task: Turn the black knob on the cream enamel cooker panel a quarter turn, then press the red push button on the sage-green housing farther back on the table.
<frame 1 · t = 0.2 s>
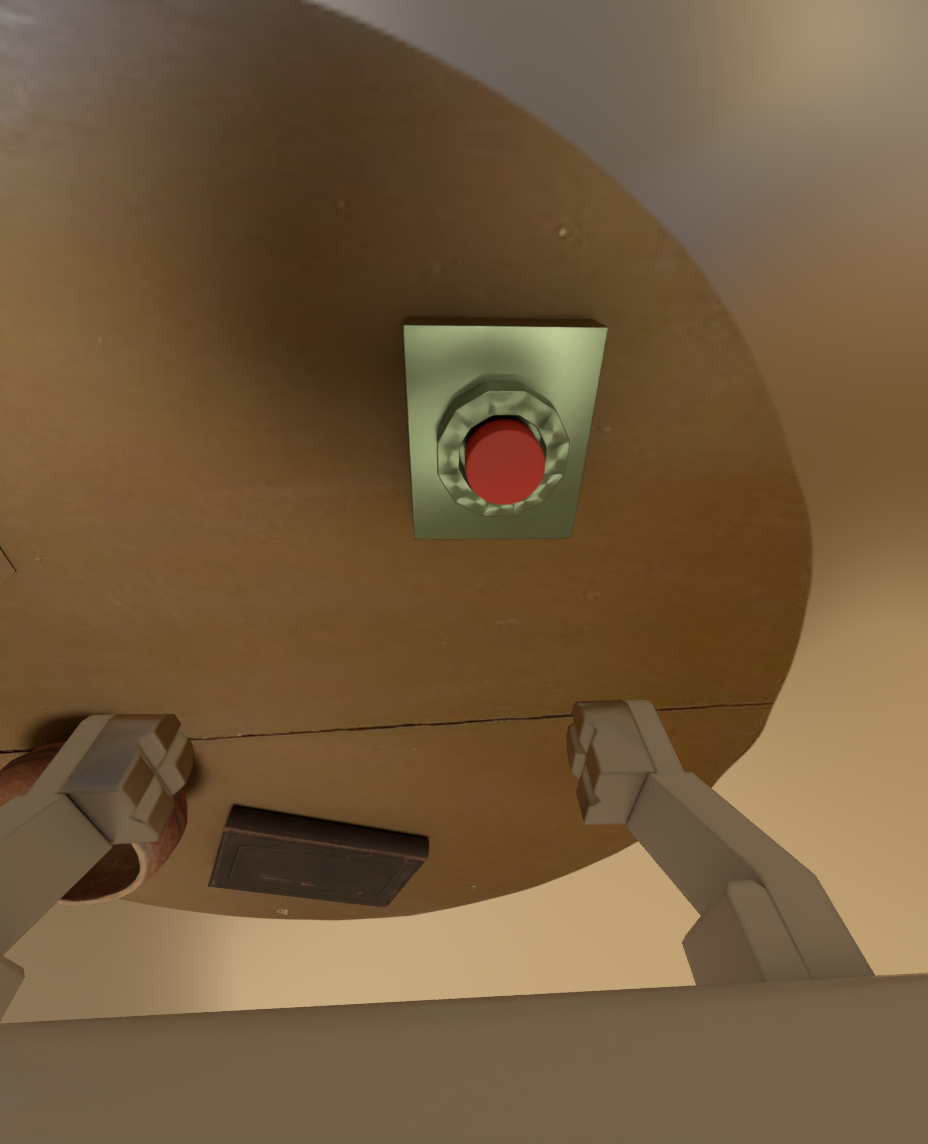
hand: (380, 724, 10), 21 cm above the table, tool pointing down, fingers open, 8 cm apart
old dark book: (320, 849, 58), on the table
button box: (494, 430, 28), on the table
bowl: (123, 761, 46), on the table
red push button: (503, 462, 24), point 5 cm above the table, slide at 0.1 cm
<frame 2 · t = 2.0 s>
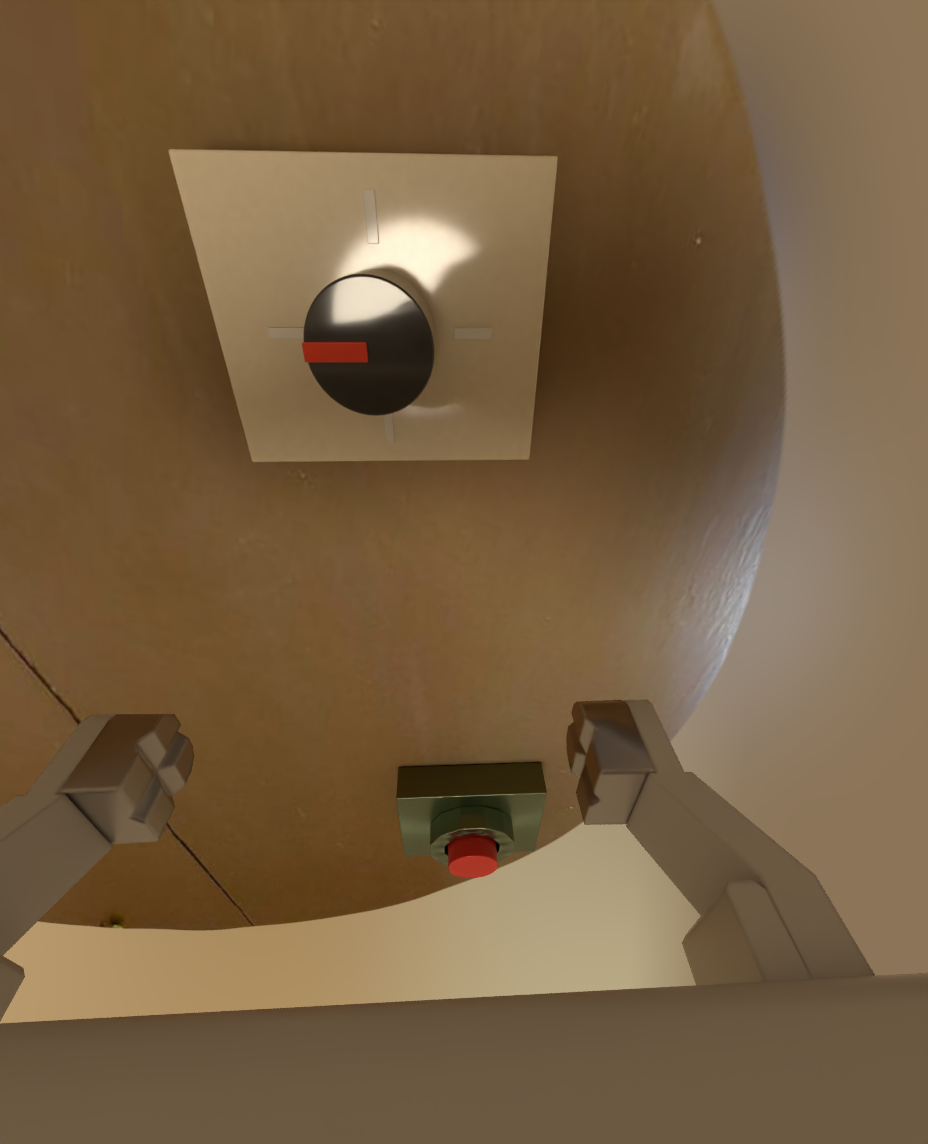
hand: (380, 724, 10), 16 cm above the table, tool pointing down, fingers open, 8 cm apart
button box: (469, 796, 42), on the table
hob knob: (375, 341, 16), point 5 cm above the table, hinge at 0.0°
hob panel: (388, 321, 20), on the table
red push button: (472, 855, 38), point 5 cm above the table, slide at 0.1 cm
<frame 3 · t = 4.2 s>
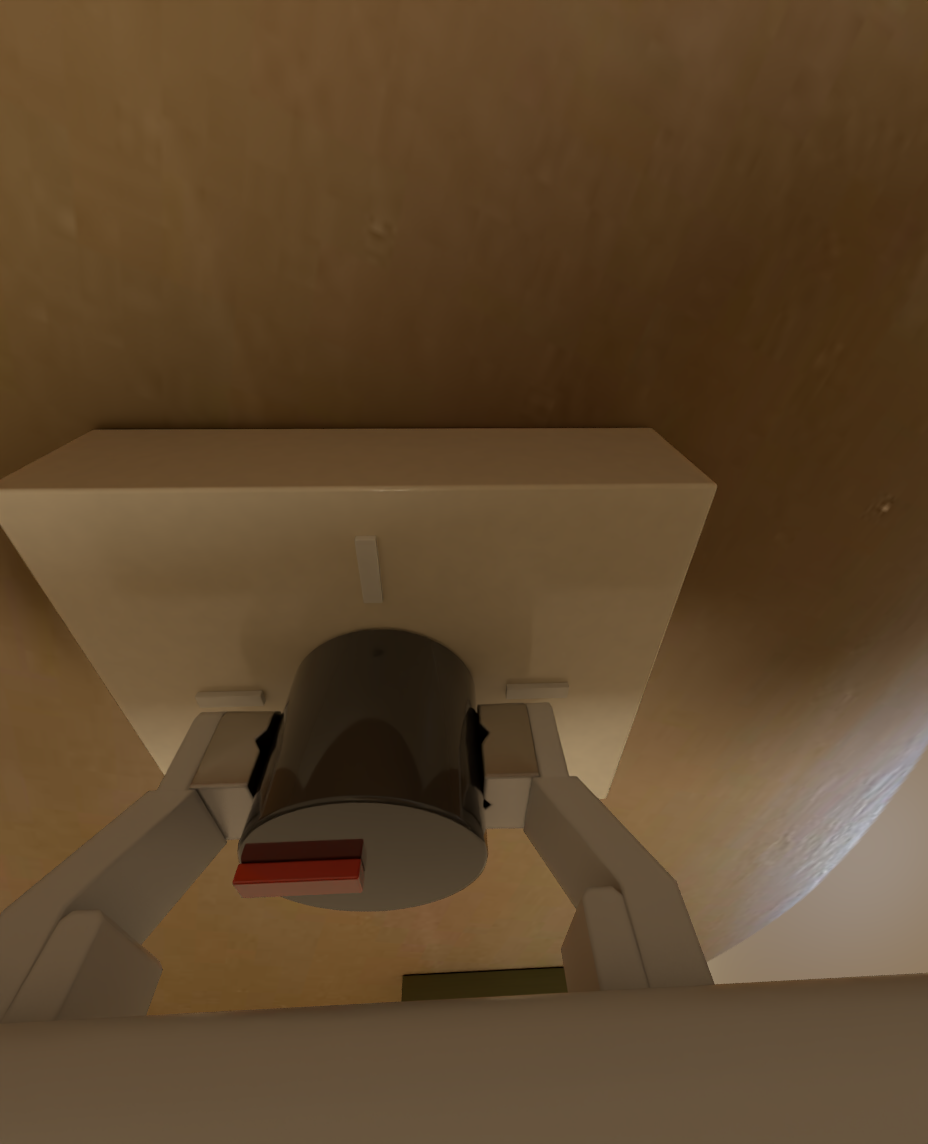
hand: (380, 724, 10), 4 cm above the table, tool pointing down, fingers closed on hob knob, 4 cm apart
button box: (486, 991, 35), on the table
hob knob: (376, 773, 9), point 5 cm above the table, hinge at 0.2°, touching gripper
hob panel: (396, 606, 13), on the table
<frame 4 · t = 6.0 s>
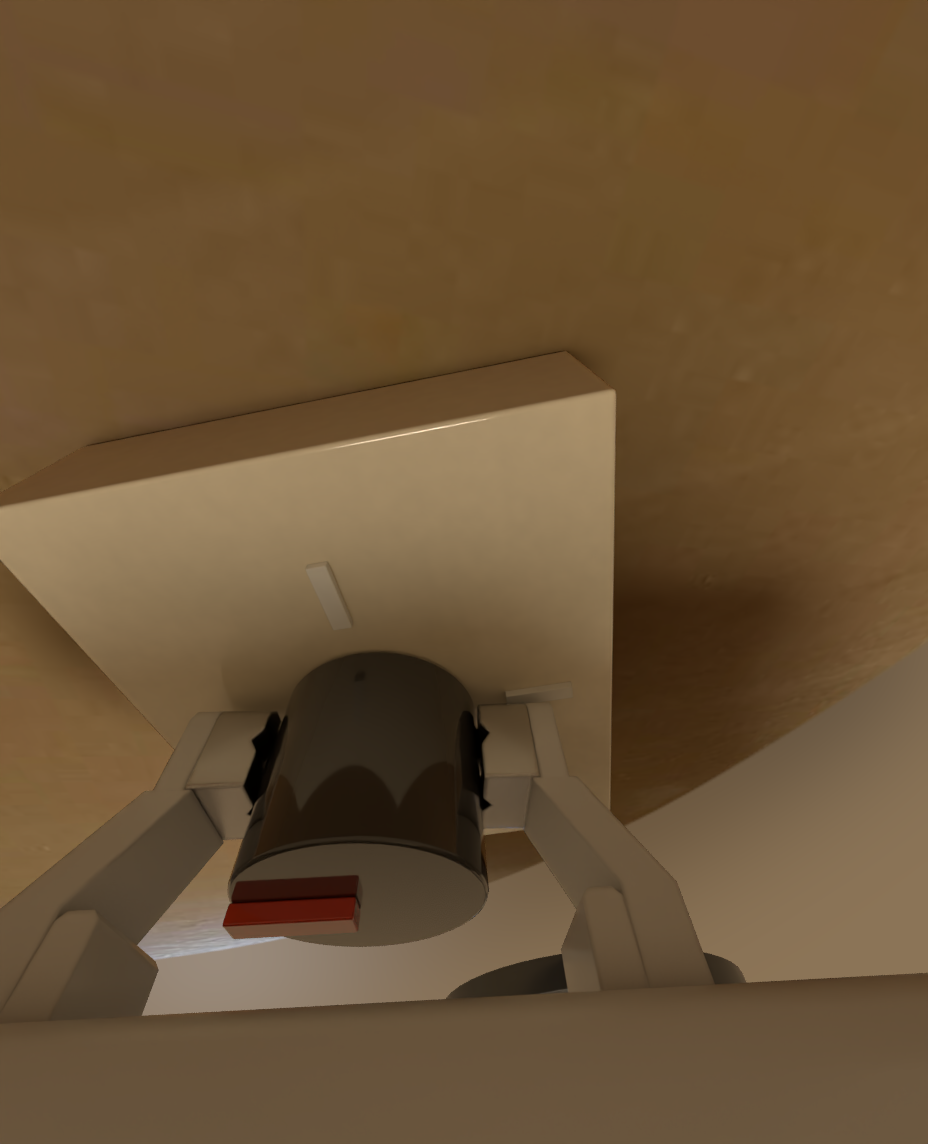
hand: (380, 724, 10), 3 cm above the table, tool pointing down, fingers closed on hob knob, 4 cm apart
hob knob: (373, 802, 8), point 5 cm above the table, hinge at 80.7°, touching gripper
hob panel: (394, 623, 13), on the table
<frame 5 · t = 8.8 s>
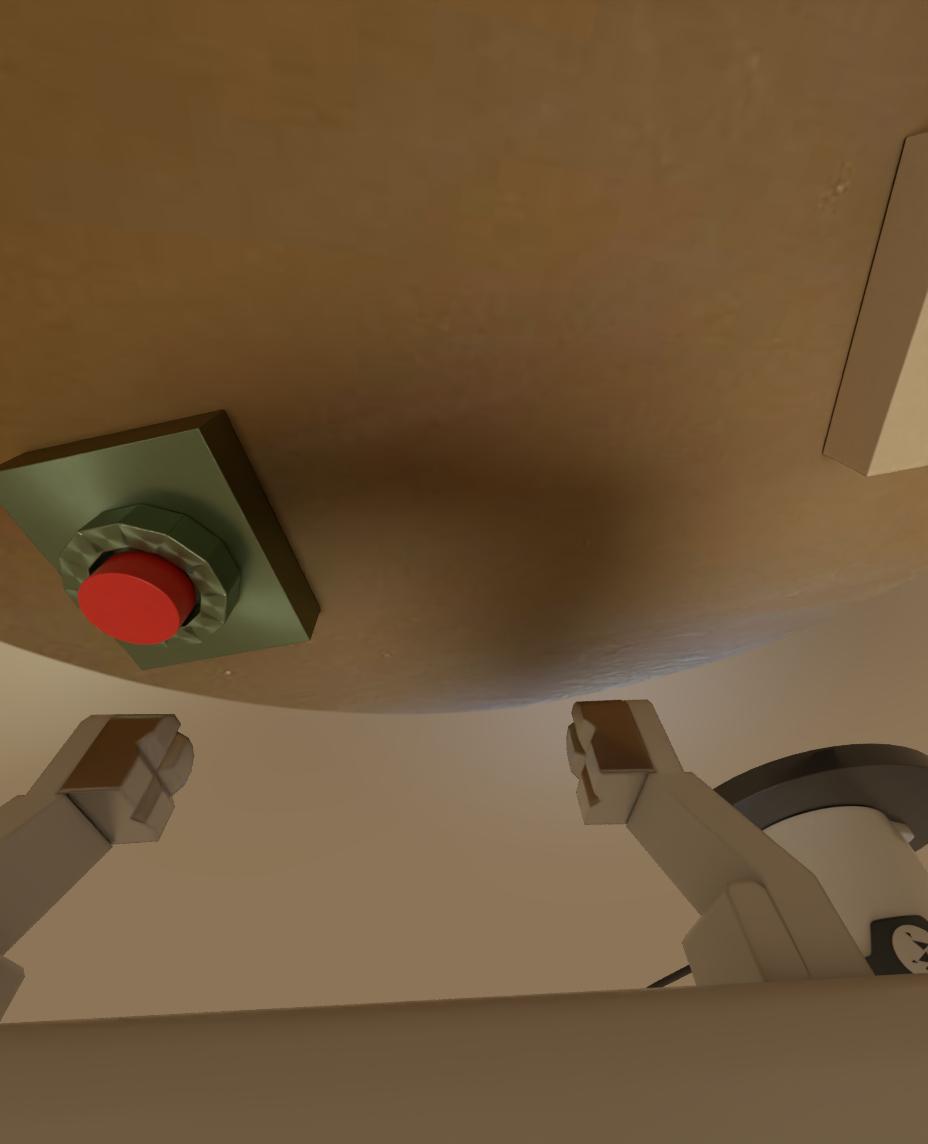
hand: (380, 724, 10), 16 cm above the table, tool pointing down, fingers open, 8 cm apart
button box: (190, 541, 25), on the table
red push button: (140, 598, 21), point 5 cm above the table, slide at 0.1 cm
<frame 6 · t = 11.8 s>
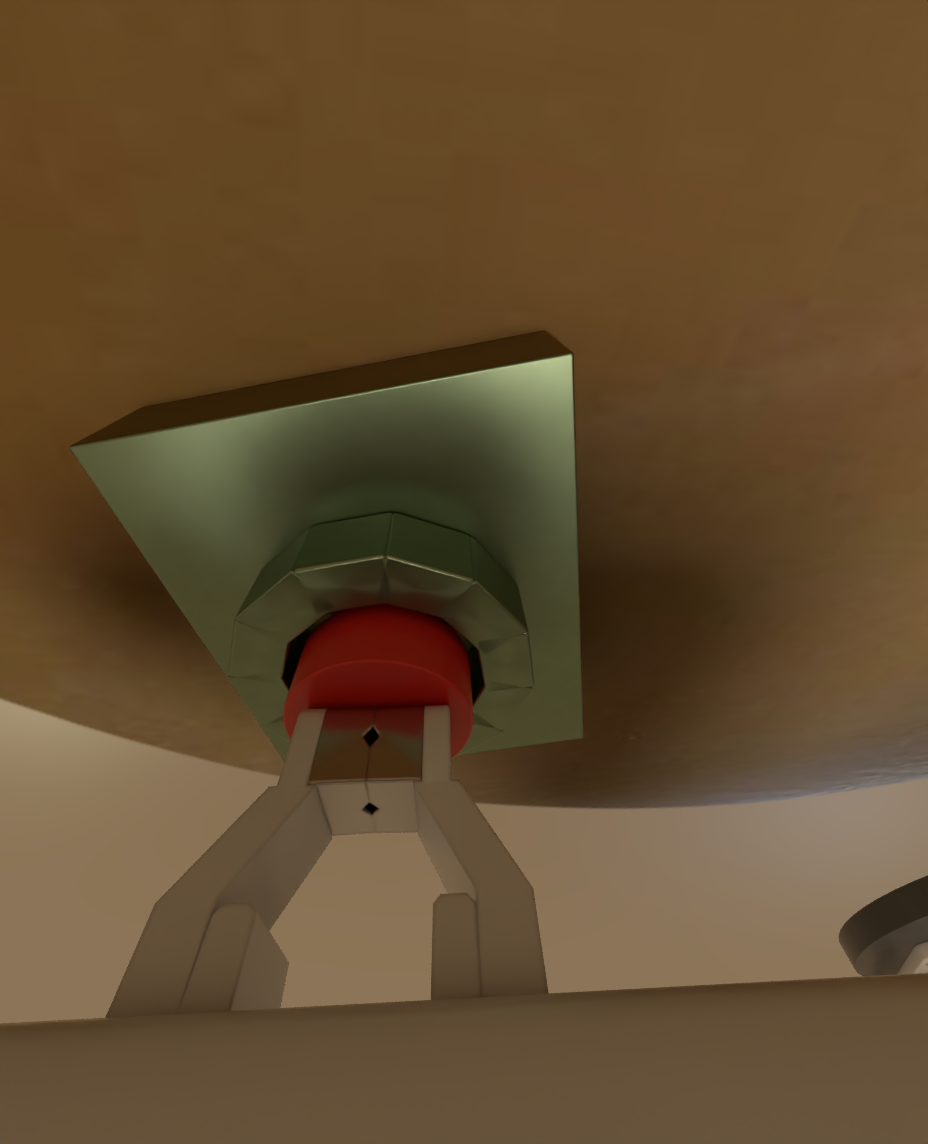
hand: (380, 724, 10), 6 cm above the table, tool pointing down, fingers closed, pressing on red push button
button box: (399, 571, 14), on the table
red push button: (383, 694, 10), point 5 cm above the table, slide at 0.0 cm, touching gripper
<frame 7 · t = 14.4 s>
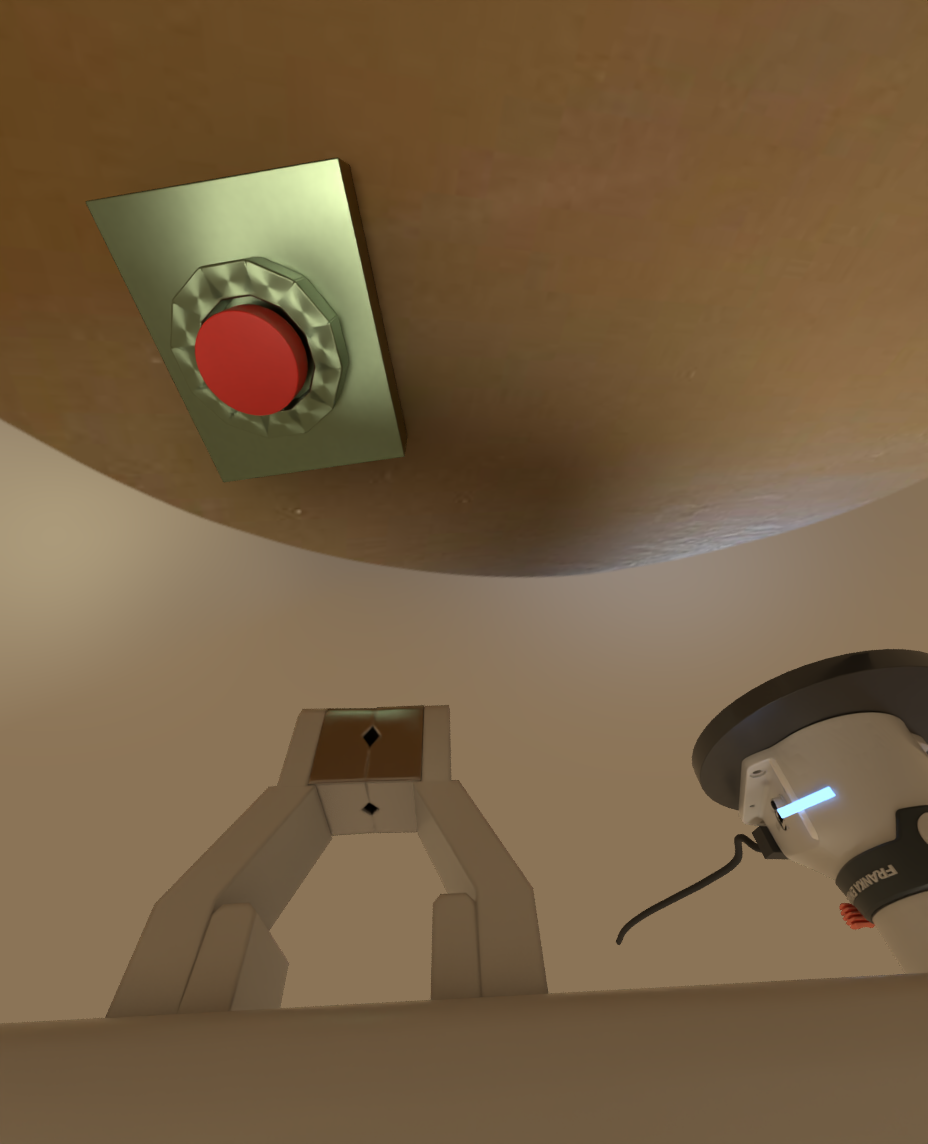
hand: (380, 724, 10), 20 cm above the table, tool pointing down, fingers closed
button box: (285, 337, 23), on the table
red push button: (254, 361, 19), point 5 cm above the table, slide at 0.1 cm
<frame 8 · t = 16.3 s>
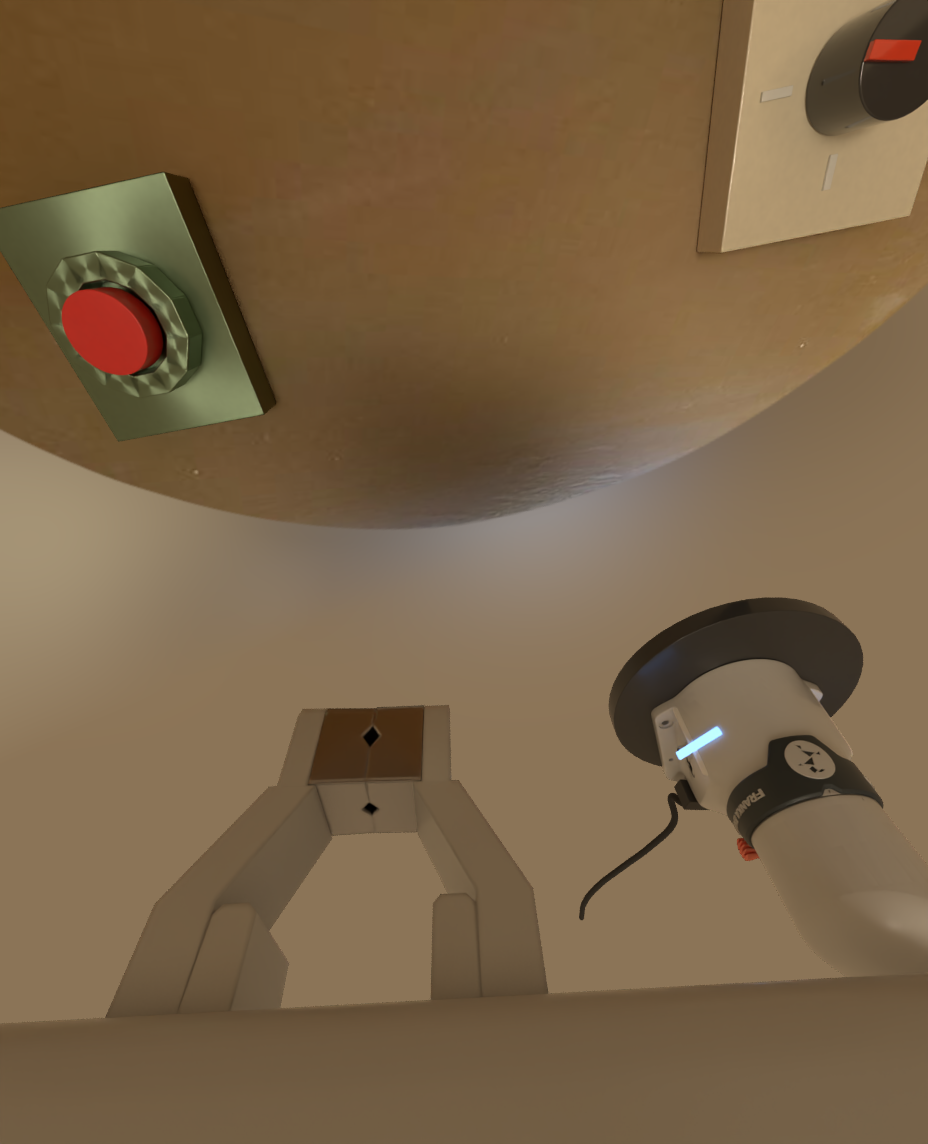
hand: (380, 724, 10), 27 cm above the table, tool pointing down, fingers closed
button box: (160, 319, 29), on the table
hob knob: (882, 65, 20), point 5 cm above the table, hinge at 80.4°
hob panel: (808, 95, 24), on the table
red push button: (114, 331, 25), point 5 cm above the table, slide at 0.1 cm
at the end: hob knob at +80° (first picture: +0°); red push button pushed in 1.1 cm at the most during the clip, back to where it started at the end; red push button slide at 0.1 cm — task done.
